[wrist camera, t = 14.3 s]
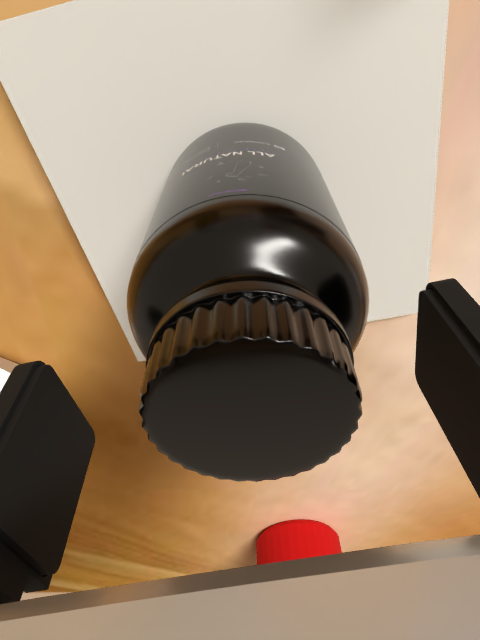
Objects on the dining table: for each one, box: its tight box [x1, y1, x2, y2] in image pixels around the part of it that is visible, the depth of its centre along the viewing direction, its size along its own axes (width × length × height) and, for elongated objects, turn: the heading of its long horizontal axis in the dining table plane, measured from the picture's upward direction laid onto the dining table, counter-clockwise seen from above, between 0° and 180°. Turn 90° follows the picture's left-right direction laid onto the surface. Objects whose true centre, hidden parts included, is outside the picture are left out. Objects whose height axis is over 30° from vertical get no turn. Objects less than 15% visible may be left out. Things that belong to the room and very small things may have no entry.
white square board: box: [0, 0, 449, 362], centre depth 19 cm, size 16×16×1 cm
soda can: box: [256, 520, 342, 565], centre depth 34 cm, size 8×8×12 cm
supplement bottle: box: [127, 123, 369, 482], centre depth 14 cm, size 7×7×12 cm
